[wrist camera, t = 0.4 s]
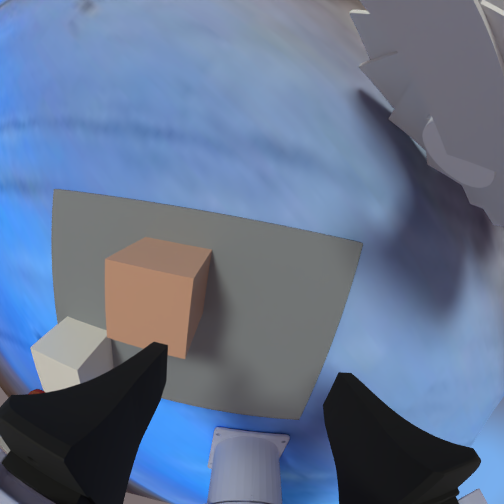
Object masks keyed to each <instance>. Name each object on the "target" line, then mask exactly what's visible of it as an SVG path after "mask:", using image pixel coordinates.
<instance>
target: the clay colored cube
mask: <svg viewBox="0 0 504 504" xmlns="http://www.w3.org/2000/svg"><path fill="white" fill-rule="evenodd" d="M211 253H212V250H211V249H206V248H201V247H196V246H190V245H185V244H180V243H175V242H170V241H164V240H159V239H154V238H149V237H144V238H143V239H141V240H139V241H137V242H135V243H133V244H131V245H129V246H127V247H126V248H124V249H122V250H120V251H118V252H116V253H115V254H113V255H111V256H109V257H107V258H106V259H105V312H106V330H107V338H110V339H113V340H116V341H120V342H123V343H126V344H129V345H133V346H136V347H140V348H143V349H144V348H145V347H147V346H148V345H149V344H151V343H152V342H158V343H162V344H166V345H168V355H169V356H173V357H178V358H182V359H185V358H186V356H187V353H188V350H189V348H190V345H191V342H192V340H193V337H194V335H195V332H196V329H197V327H198V324H199V322H200V319H201V317H202V314H203V308H204V301H205V294H206V287H207V280H208V273H209V266H210V260H211Z"/></svg>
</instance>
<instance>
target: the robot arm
mask: <svg viewBox="0 0 504 504" xmlns="http://www.w3.org/2000/svg"><path fill="white" fill-rule="evenodd" d="M167 357H168V345H166V344H162V343H158V342H152V343H151V344H149V345H148V346H147V347H145V348H144V349H142V350H141V351H140V352H138V353H137V354H135V355H134V356H132V357H131V358H129V359H128V360H126V361H125V362H123V363H122V364H120V365H118V366H117V367H115V368H113V369H111V370H109V371H108V372H106V373H104V374H102V375H100V376H98V377H96V378H94V379H91V380H89V381H86V382H84V383H81V384H78V385H74V386H71V387H68V388H65V389H61V390H56V391H52V392H46V393H39V394H28V395H11V396H10V397H9V398H8V399H7V400H6V401H5V403H4V404H3V405H2V406H1V407H0V436H1V437H2V439H3V440H4V442H5V443H6V445H7V446H8V448H9V449H10V452H9V453H8V455H6V454H5V453H4V452H3V451H2V450H1V449H0V504H123V501H124V497H125V493H126V489H127V485H128V481H129V477H130V474H131V470H132V467H133V463H134V460H135V457H136V454H137V451H138V447H139V445H140V442H141V440H142V438H143V435H144V433H145V431H146V429H147V427H148V425H149V423H150V421H151V419H152V417H153V415H154V413H155V411H156V408H157V406H158V404H159V402H160V400H161V397H162V394H163V391H164V388H165V384H166V381H167ZM323 410H324V420H325V426H326V430H327V434H328V438H329V442H330V445H331V449H332V453H333V457H334V461H335V465H336V470H337V479H338V490H339V504H487V502H486V500H485V498H484V496H483V494H482V493H481V491H480V489H476V490H475V491H473V492H471V493H469V494H467V495H466V496H464V497H462V498H461V499H459V500H457V498H456V496H457V495H458V494H459V490H458V487H459V486H460V485H461V484H462V483H463V482H464V481H465V480H466V479H468V478H469V477H470V476H471V475H472V473H474V472H475V471H476V469H477V468H478V467H479V465H480V463H481V459H480V458H479V456H478V455H477V453H476V452H475V450H474V449H473V448H469V447H465V446H461V445H457V444H454V443H451V442H448V441H445V440H443V439H440V438H438V437H435V436H433V435H431V434H429V433H427V432H425V431H423V430H421V429H420V428H418V427H416V426H414V425H413V424H411V423H410V422H408V421H407V420H405V419H404V418H402V417H401V416H400V415H398V414H397V413H396V412H395V411H393V410H392V409H391V408H389V407H388V406H387V405H386V404H385V403H384V402H382V401H381V400H380V399H379V398H378V397H377V396H376V395H375V394H374V393H373V392H372V391H370V390H369V389H368V388H367V387H366V386H365V385H364V384H363V383H362V382H361V381H360V380H359V379H358V378H356V377H355V376H354V375H353V374H352V373H341V372H339V373H338V375H337V377H336V379H335V382H334V384H333V386H332V388H331V390H330V392H329V394H328V396H327V398H326V400H325V402H324V404H323ZM289 439H290V437H289V435H285V434H271V433H260V432H251V431H243V430H236V429H229V428H222V427H216V428H215V430H214V435H213V440H212V446H211V451H210V456H209V462H208V468H210V469H212V471H211V479H210V486H209V493H208V500H207V504H282V493H281V478H280V463H279V458H280V456H281V454H282V453H283V451H284V449H285V447H286V445H287V443H288V441H289Z"/></svg>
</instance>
